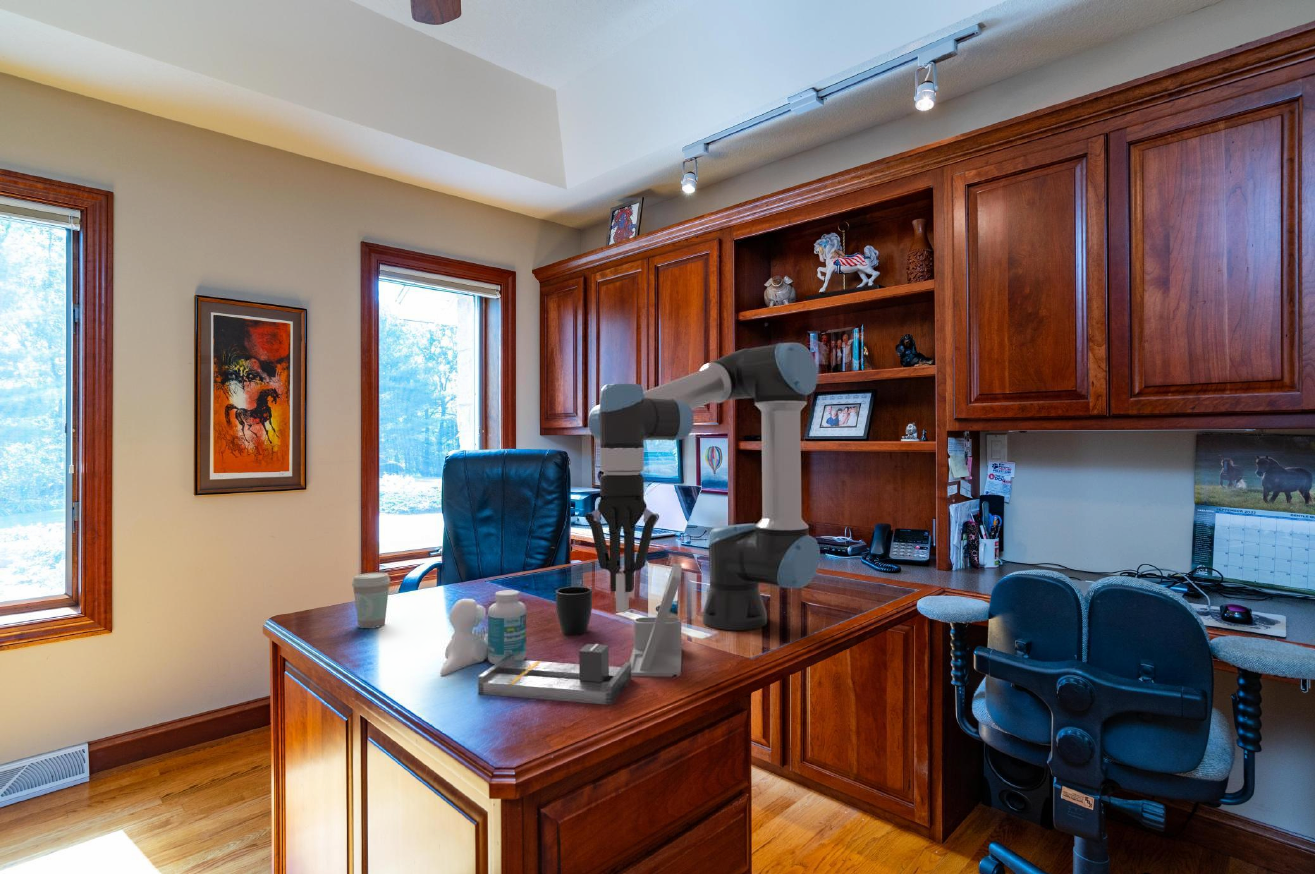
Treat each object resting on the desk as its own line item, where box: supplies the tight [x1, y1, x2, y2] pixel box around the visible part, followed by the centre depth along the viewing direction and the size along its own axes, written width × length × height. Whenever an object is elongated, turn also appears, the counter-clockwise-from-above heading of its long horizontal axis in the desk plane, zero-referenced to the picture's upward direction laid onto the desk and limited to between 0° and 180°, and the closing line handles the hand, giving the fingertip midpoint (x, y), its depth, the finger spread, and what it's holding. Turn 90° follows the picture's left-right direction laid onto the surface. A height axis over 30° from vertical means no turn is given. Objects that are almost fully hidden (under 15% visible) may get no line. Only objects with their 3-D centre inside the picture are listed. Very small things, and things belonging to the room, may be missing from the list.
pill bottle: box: [487, 589, 527, 665], centre depth 128 cm, size 8×7×14 cm
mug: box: [555, 585, 593, 636], centre depth 149 cm, size 8×12×10 cm
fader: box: [578, 643, 610, 682], centre depth 112 cm, size 4×4×6 cm
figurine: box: [439, 598, 488, 677], centre depth 129 cm, size 8×18×12 cm, turn 166°
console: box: [477, 654, 632, 706], centre depth 114 cm, size 24×12×3 cm, turn 77°
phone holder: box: [629, 562, 683, 677], centre depth 127 cm, size 17×10×18 cm, turn 177°
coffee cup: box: [351, 571, 391, 629], centre depth 155 cm, size 8×9×12 cm
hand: (622, 610), depth 111 cm, fingers closed
